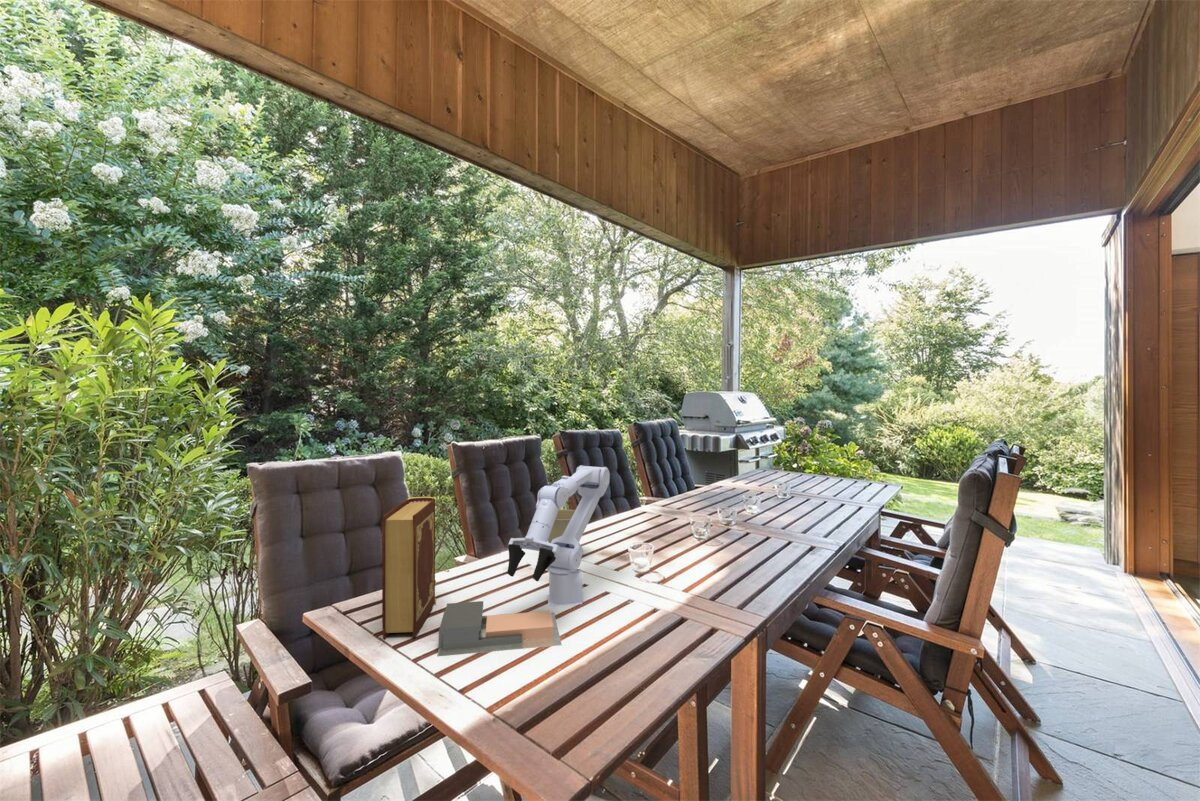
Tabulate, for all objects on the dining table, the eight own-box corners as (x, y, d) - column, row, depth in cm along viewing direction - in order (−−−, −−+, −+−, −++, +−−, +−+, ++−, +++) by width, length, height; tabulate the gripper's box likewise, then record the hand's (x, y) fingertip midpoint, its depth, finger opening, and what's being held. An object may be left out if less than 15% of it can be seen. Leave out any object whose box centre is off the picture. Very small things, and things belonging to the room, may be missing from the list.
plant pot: (543, 552, 188) (543, 509, 187) (582, 551, 189) (582, 509, 189) (542, 565, 173) (543, 519, 173) (585, 564, 174) (585, 518, 174)
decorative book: (409, 601, 142) (409, 496, 142) (437, 601, 143) (437, 496, 142) (381, 640, 120) (381, 515, 119) (415, 639, 120) (415, 515, 120)
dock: (554, 614, 134) (554, 592, 134) (561, 647, 117) (561, 622, 117) (445, 622, 129) (445, 600, 129) (436, 659, 111) (436, 633, 111)
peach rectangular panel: (550, 620, 130) (550, 610, 130) (553, 636, 121) (553, 626, 121) (486, 625, 127) (487, 615, 127) (485, 642, 118) (485, 632, 118)
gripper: (511, 517, 133) (491, 566, 125) (558, 523, 126) (540, 575, 119) (523, 529, 138) (504, 577, 130) (569, 535, 131) (552, 586, 124)
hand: (522, 577), depth 125 cm, fingers open, 7 cm apart
